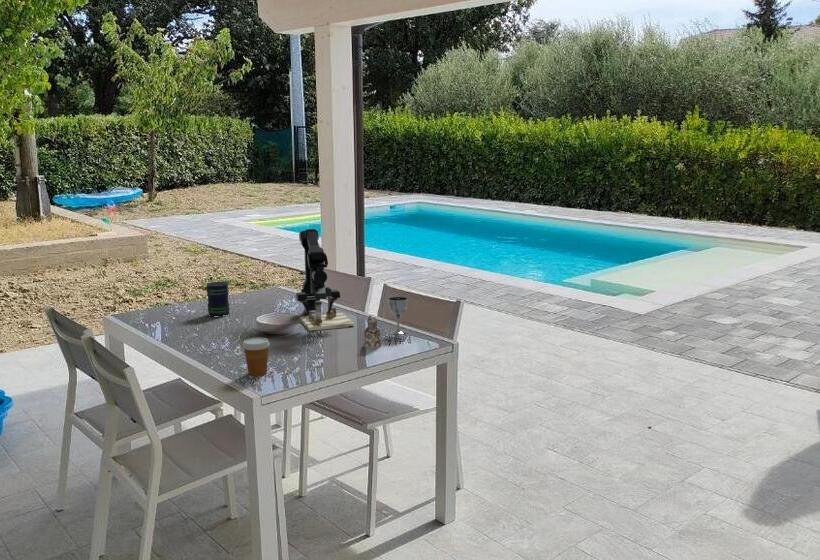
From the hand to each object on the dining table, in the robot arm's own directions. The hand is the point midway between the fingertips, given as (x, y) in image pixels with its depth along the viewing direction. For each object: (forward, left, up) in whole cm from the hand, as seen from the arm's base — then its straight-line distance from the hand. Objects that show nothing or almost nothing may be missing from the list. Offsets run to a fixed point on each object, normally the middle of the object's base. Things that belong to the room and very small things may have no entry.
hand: (318, 314), depth 329 cm
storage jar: (-41, -39, -6) cm, 57 cm away
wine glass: (+20, +30, -6) cm, 37 cm away
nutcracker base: (-7, +5, -6) cm, 10 cm away
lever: (-7, 0, -4) cm, 8 cm away
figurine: (+35, +14, -6) cm, 38 cm away
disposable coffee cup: (+54, -34, -6) cm, 64 cm away
